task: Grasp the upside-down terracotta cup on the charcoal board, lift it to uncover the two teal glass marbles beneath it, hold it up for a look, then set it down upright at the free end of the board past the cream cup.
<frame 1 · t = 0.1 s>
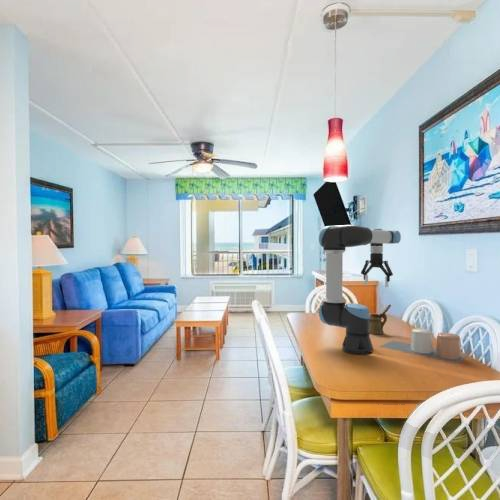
hand: (376, 286, 220), 28 cm above the table, fingers open, 13 cm apart
frisbee: (350, 323, 239), on the table
terracotta cup: (448, 356, 162), point 1 cm above the table, touching board
marble b: (449, 352, 163), point 3 cm above the table, touching board
marble a: (447, 353, 161), point 3 cm above the table, touching board
wooden mug: (379, 333, 211), on the table
board: (421, 353, 171), on the table
cream cup: (421, 350, 171), point 1 cm above the table, touching board
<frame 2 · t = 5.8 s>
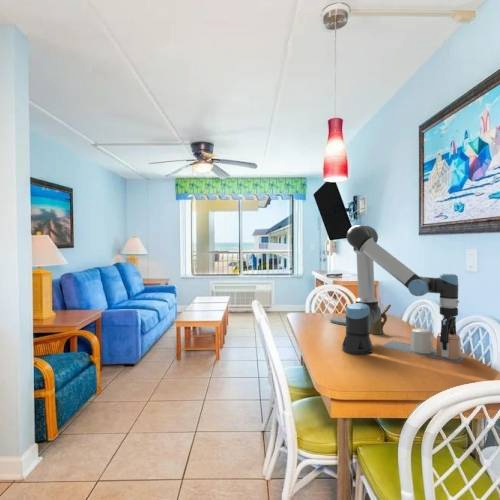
hand: (448, 354, 162), 2 cm above the table, fingers closed on terracotta cup, 9 cm apart
terracotta cup: (448, 356, 162), point 2 cm above the table, touching board, gripper
everything else where it was.
when the fingers open (4 cm above the table, at t = 15.4 s): terracotta cup drops 2 cm, resting on board.
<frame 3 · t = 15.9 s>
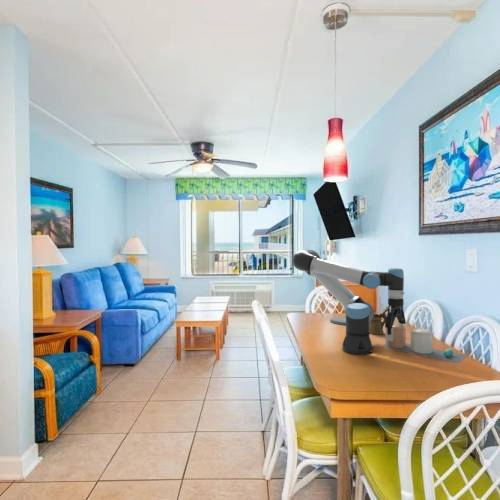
hand: (395, 338, 180), 5 cm above the table, fingers open, 13 cm apart
terracotta cup: (395, 345, 180), point 1 cm above the table, touching board
everything else where it was.
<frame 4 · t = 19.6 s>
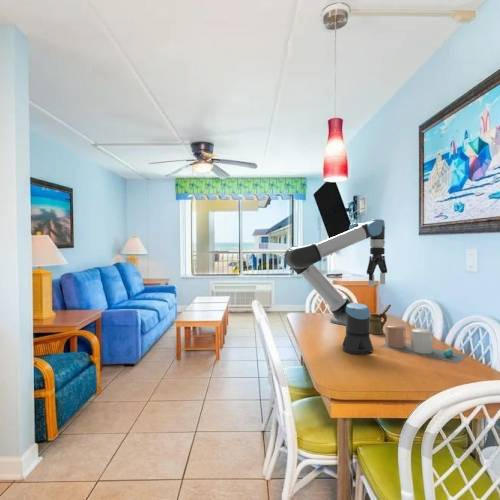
hand: (377, 285, 191), 32 cm above the table, fingers open, 13 cm apart
nothing on the table moved.
at the end: terracotta cup inside the target area on the board (0.2 cm from its centre), point 1.5 cm above the board's base; terracotta cup tilted 0°; cream cup moved 0.0 cm from its start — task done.
